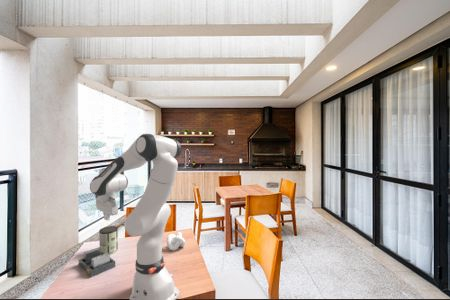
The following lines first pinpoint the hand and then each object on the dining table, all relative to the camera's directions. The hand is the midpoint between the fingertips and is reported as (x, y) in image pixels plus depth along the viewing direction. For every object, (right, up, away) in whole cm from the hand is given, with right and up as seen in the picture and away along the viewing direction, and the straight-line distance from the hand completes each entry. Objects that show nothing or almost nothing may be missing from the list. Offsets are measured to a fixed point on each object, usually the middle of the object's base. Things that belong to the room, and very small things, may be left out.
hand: (106, 219), depth 120 cm
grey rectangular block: (+1, -23, -8) cm, 24 cm away
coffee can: (-6, -24, +12) cm, 28 cm away
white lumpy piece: (+35, -25, +18) cm, 47 cm away
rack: (-3, -24, -4) cm, 25 cm away
